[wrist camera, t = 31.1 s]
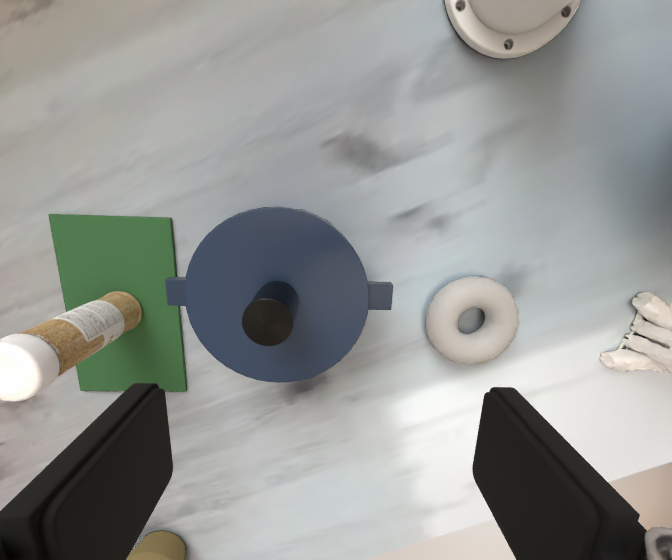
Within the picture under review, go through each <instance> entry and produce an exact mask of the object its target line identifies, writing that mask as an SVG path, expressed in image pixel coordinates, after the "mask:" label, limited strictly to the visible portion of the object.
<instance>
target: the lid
mask: <svg viewBox="0 0 672 560" xmlns="http://www.w3.org/2000/svg"><path fill="white" fill-rule="evenodd" d="M185 303H186V309H187V313H188V317H189V320H190V323H191V325H192V327H193V329H194V332H195V333H196V335H197V337H198V338H199V340H200V342H201V343H202V344H203V345H204V347H205V348H206V349H207V350H208V351H209V352H210V353H211V354H212V355H213V356H214V357H215V358H216V359H217V360H218V361H220V362H221V363H222V364H224V365H225V366H226V367H228V368H230V369H232V370H233V371H235V372H237V373H239V374H242V375H244V376H246V377H250V378H253V379H256V380H261V381H267V382H293V381H299V380H303V379H307V378H310V377H313V376H315V375H318V374H320V373H322V372H324V371H326V370H327V369H329V368H331V367H332V366H334V365H335V364H336V363H338V362H339V361H340V360H341V359H342V358H343V357H344V356H345V355H346V354H347V353H348V352H349V351H350V350H351V348H352V347H353V346H354V345H355V343H356V341H357V340H358V338H359V336H360V334H361V332H362V330H363V327H364V325H365V321H366V318H367V314H368V306H369V289H368V282H367V278H366V274H365V271H364V268H363V265H362V263H361V261H360V259H359V257H358V255H357V253H356V252H355V250H354V249H353V247H352V246H351V244H350V243H349V242H348V241H347V239H346V238H345V237H344V236H343V235H342V234H341V233H340V232H339V231H338V230H336V229H335V228H334V227H333V226H331V225H330V224H328V223H327V222H326V221H324V220H322V219H320V218H318V217H316V216H314V215H312V214H309V213H306V212H304V211H300V210H296V209H292V208H284V207H264V208H258V209H252V210H248V211H245V212H242V213H239V214H237V215H235V216H233V217H231V218H229V219H227V220H225V221H224V222H222V223H221V224H219V225H218V226H216V227H215V228H214V229H213V230H212V231H211V232H210V233H209V234H208V235H207V236H206V237H205V238H204V239H203V241H202V242H201V243H200V244H199V246H198V248H197V249H196V251H195V253H194V254H193V257H192V259H191V261H190V264H189V267H188V271H187V274H186V280H185Z"/></svg>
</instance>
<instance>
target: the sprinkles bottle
mask: <svg viewBox="0 0 672 560" xmlns="http://www.w3.org/2000/svg"><path fill="white" fill-rule="evenodd" d="M141 319H142V309H141V306H140V303H139V302H138V300H136V299H135V297H133V296H132V295H131V294H129V293H126V292H122V291H115V292H110V293H108V294H106V295H105V296H104V297H102V298H100V299H98V300H95V301H91V302H89V303H86V304H84V305H82V306H79V307H77V308H75V309H72V310H70V311H68V312H65V313H63V314H61V315H58V316H56V317H54V318H51V319H49V320H47V321H45V322H43V323H42V324H40V325H38V326H35V327H33V328H31V329H29V330H26V331H24V332H21V333H17V334H12V335H9V336H6V337H4V338H2V339H0V399H1V400H5V401H22V400H26V399H28V398H30V397H32V396H34V395H35V394H37V393H39V392H40V391H42V390H43V389H45V388H46V387H48V386H49V385H50V384H52V383H53V382H54V381H55V379H56V378H57V377H58V376H59V375H61V374H63V373H64V372H66V371H67V370H68V369H70V368H72V367H73V366H75V365H76V364H78V363H79V362H81V361H83V360H85V359H86V358H88V357H90V356H91V355H93V354H94V353H96V352H97V351H99V350H100V349H102V348H103V347H105V346H106V345H108V344H109V343H111V342H112V341H114V340H116V339H117V338H118V337H119V336H120V335H122V334H123V333H125V332H126V331H128V330H131V329H133V328H135V327H136V326H137V325H138V324H139V322H140V321H141Z"/></svg>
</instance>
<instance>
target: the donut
mask: <svg viewBox="0 0 672 560" xmlns="http://www.w3.org/2000/svg"><path fill="white" fill-rule="evenodd" d="M474 307H476V308H480V309H482V310H483V312H484V314H485V320H484V323H483V324H482V326H481V327H480V328H479V329H478V330H477V331H475V332H473V333H470V334H464V333H461V332H460V331H459V329H458V324H457V323H458V319H459V317H460V316H461V314H462V313H463V312H465V311H466V310H467V309H470V308H474ZM425 322H426V332H427V335H428V337H429V340H430V342H431V344H432V346H433V347H434V348H435V349H436V350H437V351H438V352H439V353H440V354H441V355H442V356H443V357H445V358H447V359H449V360H452V361H454V362H456V363H464V364H476V363H482V362H486V361H488V360H490V359H492V358H494V357H497V356H498V355H499V354H500V353H501V352H503V351H504V350H505V349H506V348H507V347H508V346H509V344H510V343H511V341H512V340H513V338H514V337H515V334H516V331H517V328H518V325H519V311H518V307H517V305H516V302H515V299H514V297H513V296H512V294H511V293H510V292H509V291H508V290H507V289H506V288H505V287H504V286H503V285H502V284H500V283H498V282H496V281H494V280H492V279H490V278H484V277H477V276H471V277H465V278H459V279H457V280H455V281H453V282H451V283H449V284H447V285H446V286H445V287H443V288H442V289H441V290H440V291H439V292H438V293H437V294H436V295H435V297H434V298H433V300H432V302H431V303H430V305H429V307H428V310H427V315H426V319H425Z"/></svg>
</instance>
